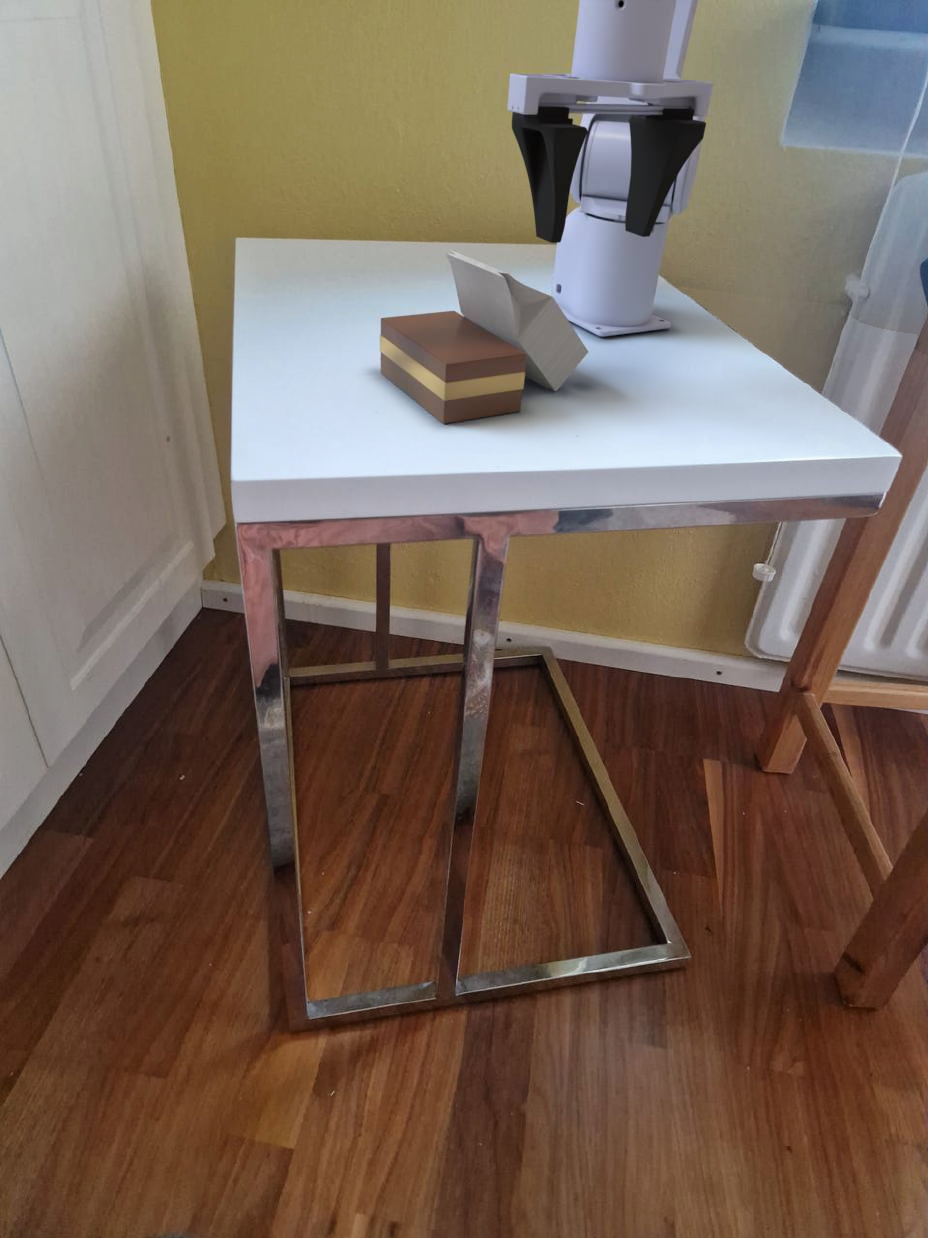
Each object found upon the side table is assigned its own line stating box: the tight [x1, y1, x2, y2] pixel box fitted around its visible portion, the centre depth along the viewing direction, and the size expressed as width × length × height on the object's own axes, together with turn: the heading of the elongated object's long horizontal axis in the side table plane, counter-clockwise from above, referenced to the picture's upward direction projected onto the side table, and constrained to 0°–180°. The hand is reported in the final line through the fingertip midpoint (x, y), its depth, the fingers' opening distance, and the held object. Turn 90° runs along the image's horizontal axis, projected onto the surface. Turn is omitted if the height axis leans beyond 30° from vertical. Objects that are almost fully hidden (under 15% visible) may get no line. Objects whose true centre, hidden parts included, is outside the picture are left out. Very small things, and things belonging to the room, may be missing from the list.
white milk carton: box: [445, 249, 589, 392], centre depth 58 cm, size 4×7×10 cm
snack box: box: [379, 310, 526, 425], centre depth 58 cm, size 10×6×4 cm, turn 29°
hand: (594, 236), depth 57 cm, fingers open, 7 cm apart
